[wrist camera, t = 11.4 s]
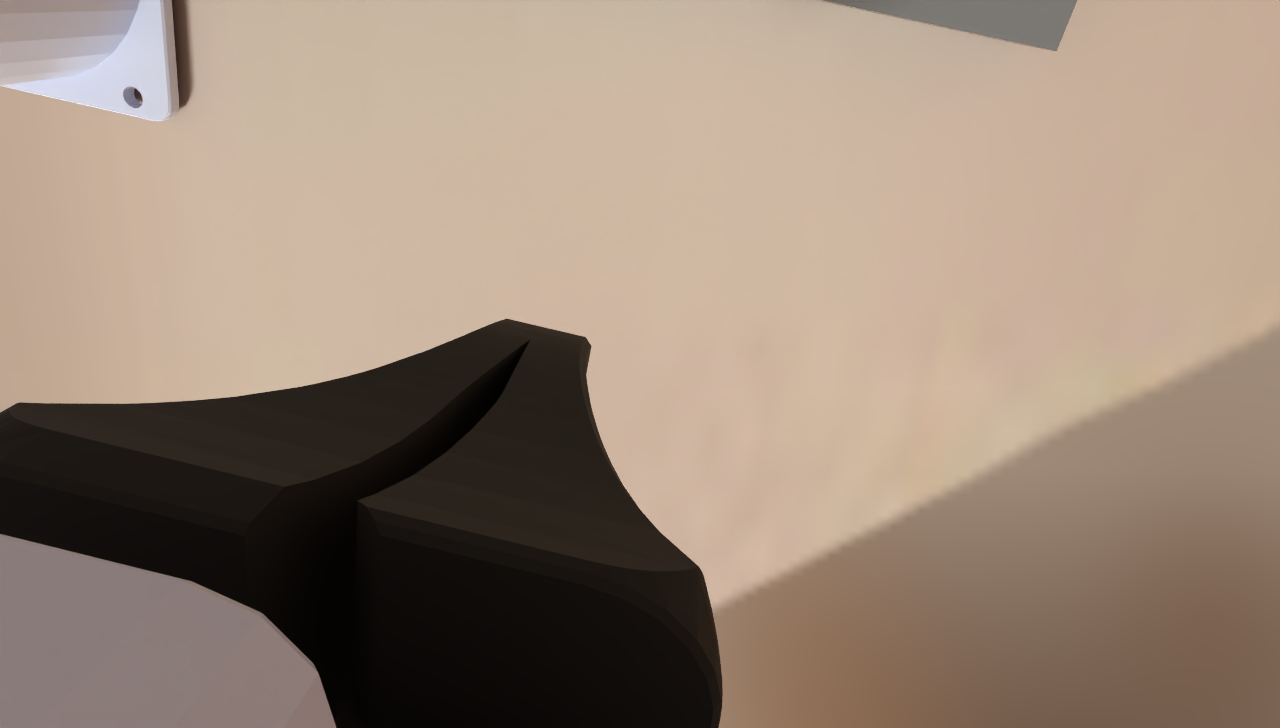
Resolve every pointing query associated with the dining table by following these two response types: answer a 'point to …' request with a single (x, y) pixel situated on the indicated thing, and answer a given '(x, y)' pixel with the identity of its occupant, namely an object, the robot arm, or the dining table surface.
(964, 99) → the dining table surface
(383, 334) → the dining table surface
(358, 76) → the dining table surface
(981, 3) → the console
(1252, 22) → the dining table surface
